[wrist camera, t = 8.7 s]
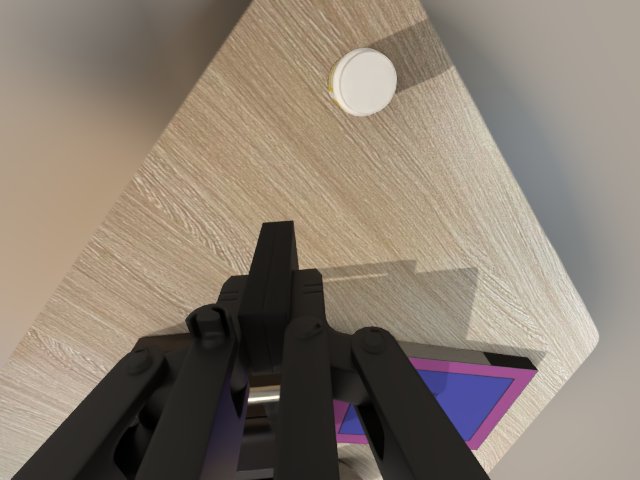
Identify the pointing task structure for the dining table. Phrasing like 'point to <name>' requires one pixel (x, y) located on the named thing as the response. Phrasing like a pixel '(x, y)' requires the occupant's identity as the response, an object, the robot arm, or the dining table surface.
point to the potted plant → (347, 473)
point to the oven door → (259, 414)
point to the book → (456, 390)
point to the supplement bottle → (362, 82)
